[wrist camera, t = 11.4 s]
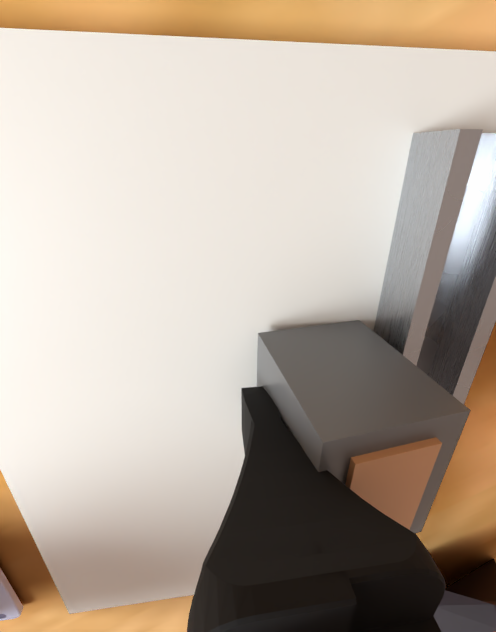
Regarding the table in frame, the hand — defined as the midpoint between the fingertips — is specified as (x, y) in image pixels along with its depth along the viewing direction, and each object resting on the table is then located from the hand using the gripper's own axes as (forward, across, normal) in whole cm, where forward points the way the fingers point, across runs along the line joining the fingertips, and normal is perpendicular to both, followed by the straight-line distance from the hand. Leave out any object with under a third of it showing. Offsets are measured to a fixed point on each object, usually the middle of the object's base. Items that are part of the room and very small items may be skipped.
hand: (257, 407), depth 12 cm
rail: (+1, -6, +2) cm, 7 cm away
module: (+1, -2, 0) cm, 2 cm away
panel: (+2, +1, +2) cm, 3 cm away
